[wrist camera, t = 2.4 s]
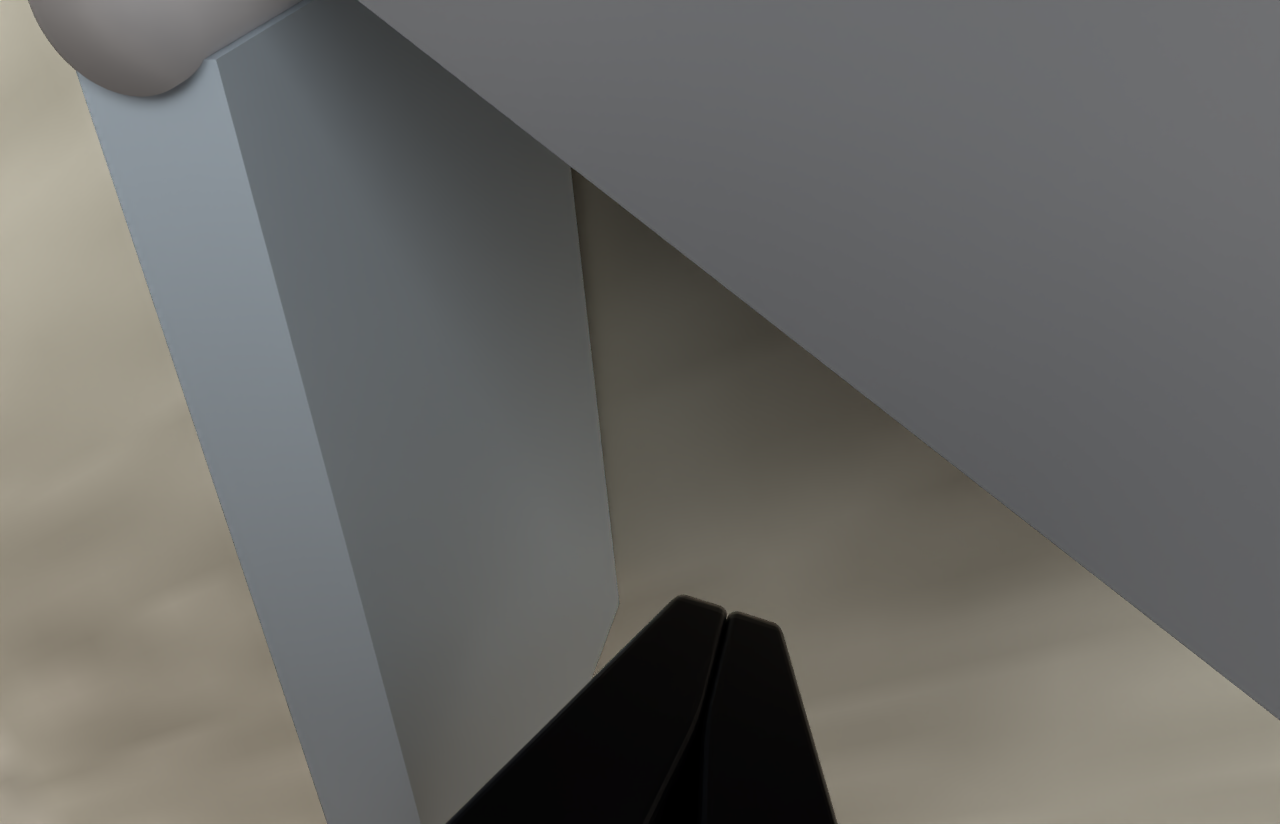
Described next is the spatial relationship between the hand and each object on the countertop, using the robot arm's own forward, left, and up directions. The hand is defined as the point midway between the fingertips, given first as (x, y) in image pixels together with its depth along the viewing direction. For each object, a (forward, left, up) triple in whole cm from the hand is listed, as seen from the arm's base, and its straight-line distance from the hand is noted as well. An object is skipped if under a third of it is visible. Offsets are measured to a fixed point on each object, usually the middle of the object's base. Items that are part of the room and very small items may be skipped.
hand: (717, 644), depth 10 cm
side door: (0, -3, -3) cm, 4 cm away
